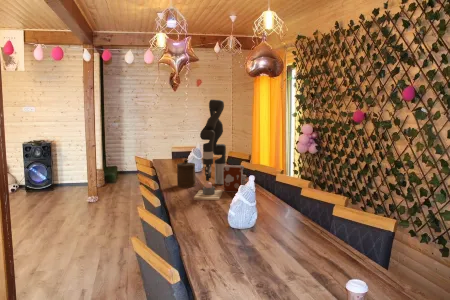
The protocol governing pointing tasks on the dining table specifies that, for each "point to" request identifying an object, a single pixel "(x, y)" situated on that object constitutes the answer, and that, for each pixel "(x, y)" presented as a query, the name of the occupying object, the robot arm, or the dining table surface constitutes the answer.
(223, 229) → the dining table surface
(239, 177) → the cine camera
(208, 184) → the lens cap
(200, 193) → the mount board
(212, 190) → the lens barrel
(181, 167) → the wooden container
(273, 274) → the dining table surface
